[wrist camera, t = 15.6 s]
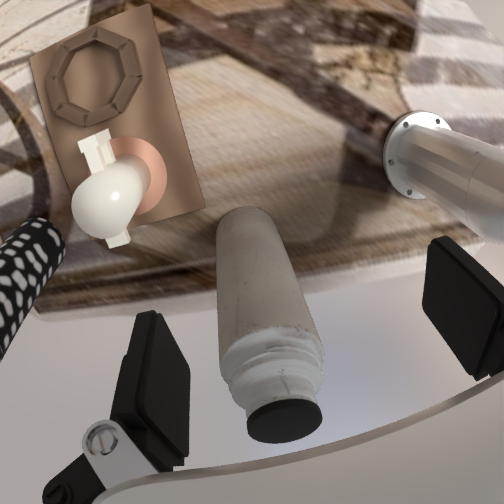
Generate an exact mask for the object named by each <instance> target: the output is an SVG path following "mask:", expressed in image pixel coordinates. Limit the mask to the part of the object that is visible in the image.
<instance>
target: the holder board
mask: <svg viewBox="0 0 504 504" xmlns="http://www.w3.org/2000/svg"><path fill="white" fill-rule="evenodd" d="M29 59H30V63H31V68H32V72H33V76H34V80H35V84H36V88H37V92H38V96H39V100H40V103H41V107H42V110H43V114H44V117H45V120H46V124H47V127H48V130H49V133H50V136H51V139H52V142H53V145H54V148H55V151H56V154H57V157H58V160H59V163H60V166H61V168H62V171H63V174H64V176H65V179H66V182H67V184H68V187H69V189H70V192H71V195H72V197H73V194H74V192H75V190H76V189H77V187H78V186H79V185H80V184H81V183H82V182H84V181H85V180H86V179H87V178H88V177H90V176H91V175H92V174H91V171H90V168H89V166H88V163H87V160H86V157H85V154H84V152H83V153H81V151H80V148H79V145H78V141H80V140H82V139H84V138H86V137H88V136H91V135H93V134H95V133H98V132H100V131H103V130H105V129H108V130H109V133H110V136H111V139H110V140H109V141H110V144H111V148H112V151H113V154H114V156H117V155H119V154H123V153H130V154H134V155H137V156H139V157H140V158H141V159H143V160H144V161H145V162H146V164H147V165H148V167H149V170H150V173H151V183H150V187H149V189H148V191H147V192H146V194H145V196H144V197H143V199H142V201H141V202H140V204H139V206H138V208H137V209H136V211H135V213H134V215H133V216H132V218H131V220H130V222H129V223H128V225H127V227H126V229H127V230H128V229H131V228H135V227H138V226H142V225H145V224H148V223H152V222H155V221H159V220H163V219H166V218H170V217H173V216H177V215H181V214H184V213H188V212H192V211H195V210H199V209H203V208H205V202H204V198H203V195H202V192H201V188H200V185H199V182H198V178H197V175H196V171H195V168H194V165H193V161H192V158H191V154H190V151H189V147H188V144H187V140H186V137H185V133H184V130H183V126H182V123H181V119H180V115H179V112H178V108H177V105H176V101H175V97H174V94H173V90H172V86H171V83H170V79H169V75H168V71H167V68H166V64H165V60H164V56H163V52H162V48H161V45H160V41H159V37H158V33H157V29H156V25H155V21H154V17H153V13H152V9H151V5H150V4H149V3H148V4H145V5H142V6H139V7H136V8H133V9H131V10H128V11H125V12H123V13H120V14H118V15H115V16H113V17H110V18H108V19H105V20H103V21H101V22H98V23H96V24H94V25H91V26H89V27H87V28H85V29H83V30H81V31H79V32H76V33H74V34H72V35H70V36H68V37H66V38H64V39H62V40H61V41H59V42H57V43H55V44H53V45H51V46H49V47H48V48H46V49H44V50H42V51H40V52H39V53H37V54H35V55H34V56H32V57H30V58H29ZM88 235H89V234H88ZM89 237H90V239H91V241H92V240H95V239H98V238H96V237H93V236H91V235H89Z"/></svg>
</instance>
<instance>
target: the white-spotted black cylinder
mask: <svg viewBox="0 0 504 504" xmlns="http://www.w3.org/2000/svg"><path fill="white" fill-rule="evenodd" d="M64 256H65V243H64V240H63V237H62V235H61V233H60V232H59V230H58V229H57V228H56V227H55V226H54V225H53V224H52V223H51V222H49V221H48V220H45V219H43V218H31V219H28V220H27V221H25V222H24V223H23V224H22V225H21V226H20V227H19V228H18V229H17V230H16V231H15V232H14V233H13V234H12V235H11V236H10V237H9V238H8V239H7V240H6V241H5V242H4V243H3V244H2V245H1V246H0V362H1V360H2V359H3V357H4V355H5V353H6V351H7V349H8V347H9V345H10V344H11V342H12V340H13V338H14V336H15V335H16V333H17V331H18V329H19V328H20V326H21V324H22V323H23V321H24V319H25V317H26V316H27V314H28V313H29V311H30V309H31V308H32V306H33V304H34V303H35V301H36V300H37V298H38V296H39V295H40V293H41V292H42V290H43V289H44V287H45V286H46V284H47V283H48V281H49V280H50V278H51V277H52V275H53V274H54V272H55V271H56V269H57V268H58V266H59V265H60V263H61V262H62V261H63V258H64Z"/></svg>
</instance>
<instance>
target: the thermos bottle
mask: <svg viewBox="0 0 504 504" xmlns="http://www.w3.org/2000/svg"><path fill="white" fill-rule="evenodd" d="M216 272H217V310H218V337H219V361H220V371H221V375H222V377H223V379H224V381H225V382H226V383H227V384H228V386H229V391H230V392H231V394H232V397H233V399H234V401H235V402H236V403H237V404H238V405H239V406H240V407H242V408H243V409H245V410H246V416H247V418H248V419H247V430H248V434H249V435H250V437H252V438H253V439H255V440H257V441H259V442H263V443H272V444H277V443H286V442H291V441H295V440H298V439H301V438H303V437H305V436H307V435H309V434H311V433H312V432H314V431H315V430H316V429H317V428H318V427H319V426H320V424H321V423H322V414H321V410H320V408H319V406H318V405H317V399H316V394H317V393H318V392H319V390H320V388H321V386H322V382H323V377H322V364H323V361H324V350H323V346H322V343H321V340H320V338H319V335H318V333H317V330H316V327H315V325H314V322H313V319H312V317H311V314H310V311H309V309H308V306H307V304H306V301H305V299H304V296H303V293H302V290H301V288H300V285H299V283H298V280H297V278H296V275H295V272H294V270H293V267H292V265H291V262H290V260H289V257H288V255H287V252H286V250H285V247H284V245H283V242H282V240H281V237H280V235H279V232H278V230H277V227H276V225H275V223H274V221H273V219H272V218H271V217H270V215H268V214H267V213H266V212H265V211H263V210H261V209H258V208H255V207H241V208H237V209H234V210H232V211H230V212H229V213H228V214H226V215H225V216H224V217H223V218H222V219H221V221H220V223H219V224H218V227H217V230H216Z"/></svg>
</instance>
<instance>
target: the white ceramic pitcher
mask: <svg viewBox="0 0 504 504" xmlns="http://www.w3.org/2000/svg"><path fill="white" fill-rule="evenodd" d="M110 139H111V136H110V133H109V130H108V129H105V130H103V131H100V132H98V133H95V134H93V135H91V136H88V137H86V138H84V139H82V140H80V141H78V145H79V148H80V151H81V153H83V152H84V154H85V157H86V160H87V163H88V166H89V168H90V171H91V174H92V175H91V176H90V177H88V178H87V179H86V180H85V181H84V182H82V183H81V184H80V185H79V186H78V187H77V189H76V190H75V192H74V194H73V198H72V206H71V207H72V213H73V216H74V219H75V221H76V223H77V224H78V226H79V227H80V228H81V229H82V230H83V231H84V232H86V233H87V234H89V235H91V236H93V237H96V238H101V239H106V242H107V244H108V246H109V248H114V247H117V246H121V245H124V244H127V243H129V242H130V240H131V239H130V236H129V234H128V231H127V229H126V227H127V225H128V223H129V222H130V220H131V218H132V216H133V215H134V213H135V211H136V209H137V208H138V206H139V204H140V202H141V201H142V199H143V197H144V196H145V194H146V192H147V191H148V189H149V187H150V183H151V173H150V170H149V167H148V165H147V164H146V162H145V161H144V160H143V159H141V158H140V157H139V156H137V155H134V154H130V153H123V154H119V155H117V156H114V154H113V151H112V148H111V144H110V141H109V140H110Z"/></svg>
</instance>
